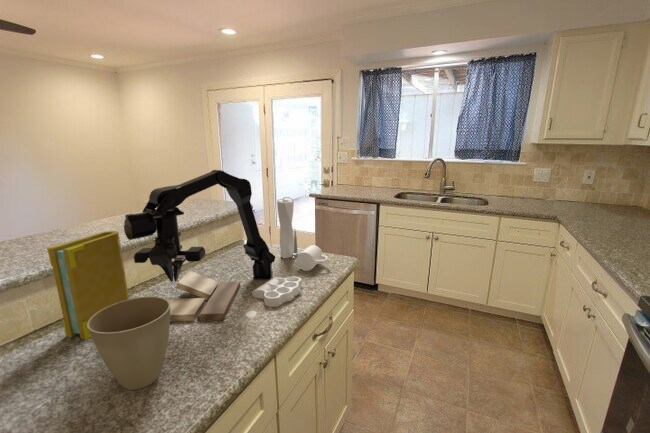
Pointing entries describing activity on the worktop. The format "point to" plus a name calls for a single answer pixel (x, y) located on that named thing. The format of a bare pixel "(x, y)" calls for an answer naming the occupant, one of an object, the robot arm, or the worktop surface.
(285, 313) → the worktop surface
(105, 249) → the book
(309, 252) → the mug
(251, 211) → the robot arm
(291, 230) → the skyscraper
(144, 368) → the plant pot
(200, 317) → the walnut board
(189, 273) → the oak plank right
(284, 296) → the white honeycomb tray
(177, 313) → the oak plank left
